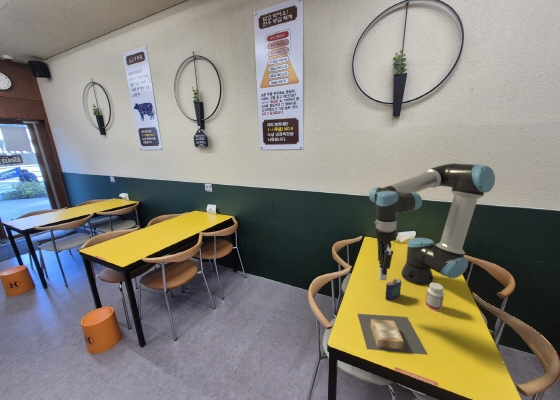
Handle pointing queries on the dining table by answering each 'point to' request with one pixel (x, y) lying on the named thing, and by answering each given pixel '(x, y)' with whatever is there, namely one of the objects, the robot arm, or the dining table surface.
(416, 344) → the mat
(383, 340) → the oak tile
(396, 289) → the flask
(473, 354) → the dining table surface
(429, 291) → the pill bottle
